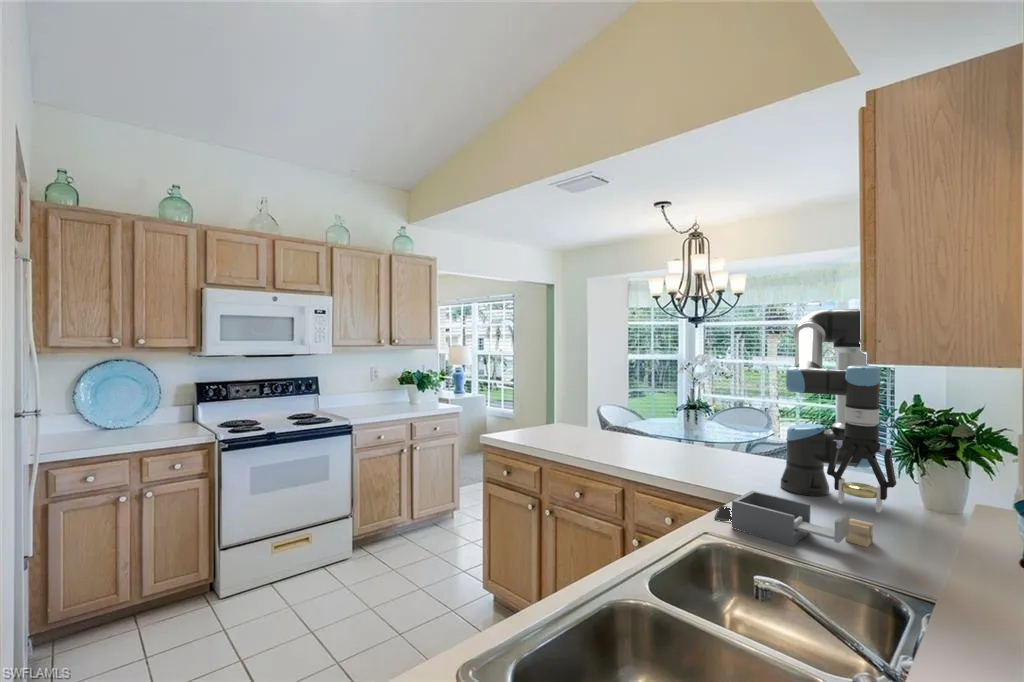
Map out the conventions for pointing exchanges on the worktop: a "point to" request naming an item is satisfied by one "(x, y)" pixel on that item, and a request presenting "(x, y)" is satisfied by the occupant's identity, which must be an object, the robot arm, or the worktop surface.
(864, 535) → the pedestal
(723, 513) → the cell phone
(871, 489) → the disc
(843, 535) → the grey i-beam
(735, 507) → the box
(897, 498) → the worktop surface
